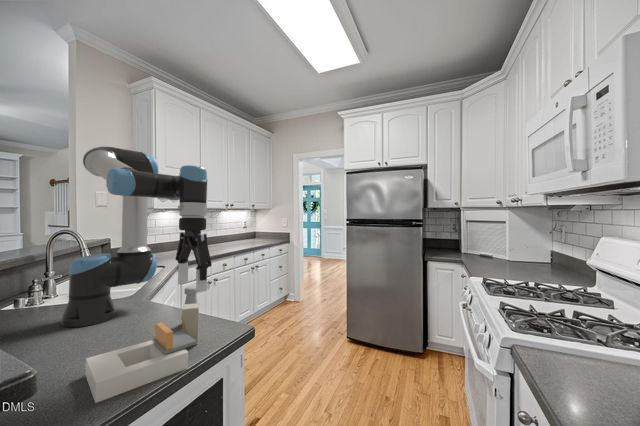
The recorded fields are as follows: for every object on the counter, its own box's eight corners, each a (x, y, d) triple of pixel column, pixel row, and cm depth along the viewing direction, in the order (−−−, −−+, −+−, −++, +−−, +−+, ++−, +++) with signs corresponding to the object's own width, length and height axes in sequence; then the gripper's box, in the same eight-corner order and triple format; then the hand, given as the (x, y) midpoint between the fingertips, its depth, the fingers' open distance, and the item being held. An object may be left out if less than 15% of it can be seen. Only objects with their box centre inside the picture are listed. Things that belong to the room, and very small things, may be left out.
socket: (85, 375, 64) (86, 358, 64) (168, 349, 77) (168, 335, 78) (95, 403, 55) (95, 383, 55) (188, 368, 68) (188, 352, 68)
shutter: (152, 342, 73) (153, 323, 73) (182, 333, 78) (182, 316, 78) (164, 354, 66) (165, 334, 66) (196, 344, 72) (196, 325, 72)
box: (182, 340, 83) (183, 303, 84) (198, 338, 85) (198, 302, 85) (181, 347, 79) (182, 309, 79) (197, 345, 80) (198, 307, 81)
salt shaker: (192, 327, 93) (192, 289, 93) (177, 326, 94) (178, 288, 94) (202, 321, 99) (203, 285, 99) (188, 320, 100) (189, 284, 100)
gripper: (165, 217, 88) (164, 282, 88) (197, 216, 71) (196, 298, 71) (189, 217, 94) (188, 279, 93) (224, 217, 77) (223, 292, 76)
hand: (191, 287), depth 82 cm, fingers open, 13 cm apart
